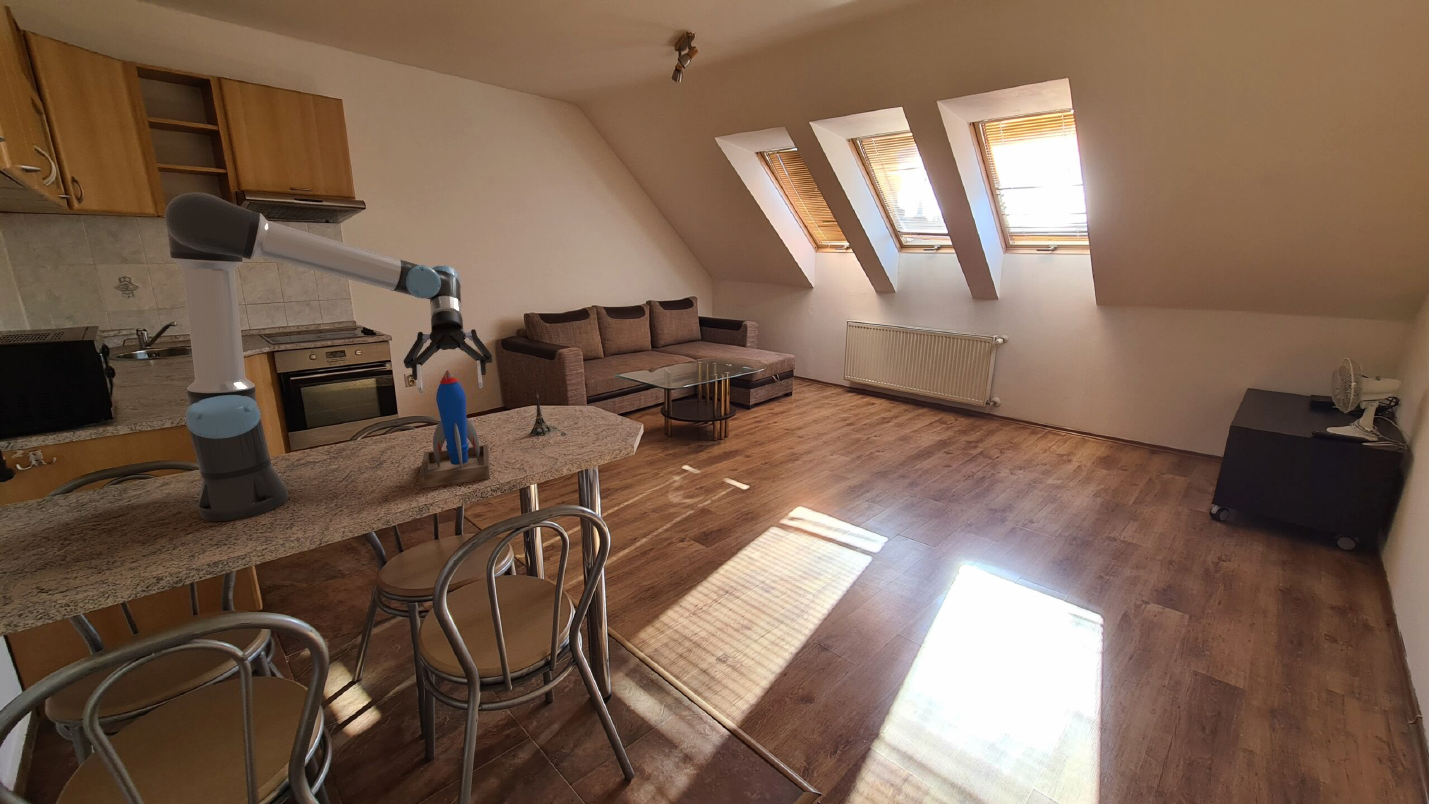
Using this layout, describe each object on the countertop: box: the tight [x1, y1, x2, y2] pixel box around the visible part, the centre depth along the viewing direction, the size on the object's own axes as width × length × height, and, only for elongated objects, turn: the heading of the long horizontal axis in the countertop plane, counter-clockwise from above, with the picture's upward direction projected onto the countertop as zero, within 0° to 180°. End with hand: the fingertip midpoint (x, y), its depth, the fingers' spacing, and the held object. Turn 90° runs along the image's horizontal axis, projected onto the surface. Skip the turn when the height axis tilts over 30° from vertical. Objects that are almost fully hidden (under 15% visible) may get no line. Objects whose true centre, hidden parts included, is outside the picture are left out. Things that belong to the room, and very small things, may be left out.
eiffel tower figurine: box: [517, 393, 568, 437], centre depth 171 cm, size 15×10×13 cm
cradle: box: [418, 443, 491, 489], centre depth 144 cm, size 15×16×3 cm
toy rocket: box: [432, 369, 480, 468], centre depth 140 cm, size 11×10×25 cm
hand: (450, 387), depth 142 cm, fingers open, 13 cm apart
